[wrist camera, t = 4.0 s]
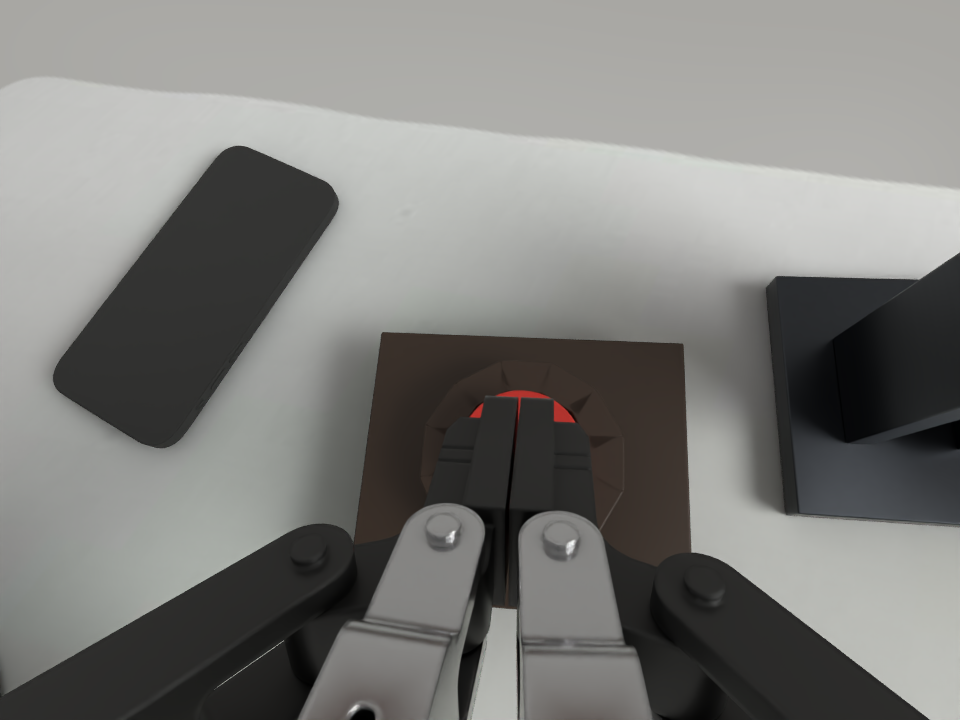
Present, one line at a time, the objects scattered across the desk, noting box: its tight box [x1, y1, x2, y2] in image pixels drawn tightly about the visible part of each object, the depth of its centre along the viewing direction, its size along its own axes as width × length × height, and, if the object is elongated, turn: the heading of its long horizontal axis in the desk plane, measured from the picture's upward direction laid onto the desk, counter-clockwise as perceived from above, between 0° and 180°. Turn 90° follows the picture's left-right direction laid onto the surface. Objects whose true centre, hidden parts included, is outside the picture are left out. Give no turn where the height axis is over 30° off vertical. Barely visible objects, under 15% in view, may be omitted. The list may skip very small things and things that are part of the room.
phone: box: [53, 146, 339, 448], centre depth 28 cm, size 7×1×15 cm
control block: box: [354, 332, 691, 609], centre depth 22 cm, size 12×10×5 cm
